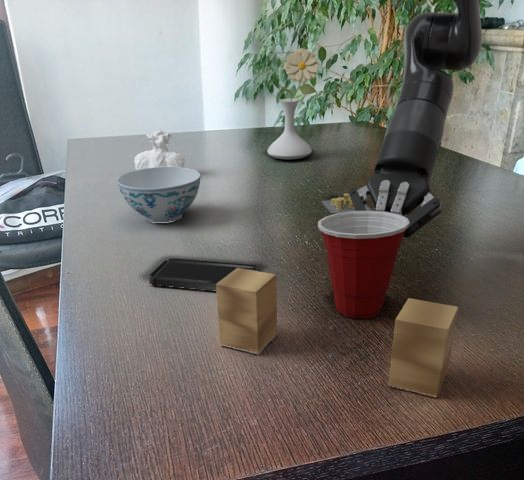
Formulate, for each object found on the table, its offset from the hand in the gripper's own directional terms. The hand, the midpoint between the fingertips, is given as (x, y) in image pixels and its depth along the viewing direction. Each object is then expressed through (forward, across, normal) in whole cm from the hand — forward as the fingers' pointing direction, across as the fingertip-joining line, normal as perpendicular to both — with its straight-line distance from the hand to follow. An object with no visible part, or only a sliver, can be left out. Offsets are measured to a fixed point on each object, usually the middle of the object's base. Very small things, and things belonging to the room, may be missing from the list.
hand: (376, 261), depth 75 cm
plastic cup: (+7, -1, 0) cm, 7 cm away
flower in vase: (-44, -44, +52) cm, 81 cm away
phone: (+7, -24, 0) cm, 25 cm away
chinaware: (-7, -46, +15) cm, 49 cm away
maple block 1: (+16, -9, -9) cm, 21 cm away
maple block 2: (+16, +11, -9) cm, 21 cm away
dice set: (-22, -17, +29) cm, 40 cm away
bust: (-24, -64, +32) cm, 76 cm away
